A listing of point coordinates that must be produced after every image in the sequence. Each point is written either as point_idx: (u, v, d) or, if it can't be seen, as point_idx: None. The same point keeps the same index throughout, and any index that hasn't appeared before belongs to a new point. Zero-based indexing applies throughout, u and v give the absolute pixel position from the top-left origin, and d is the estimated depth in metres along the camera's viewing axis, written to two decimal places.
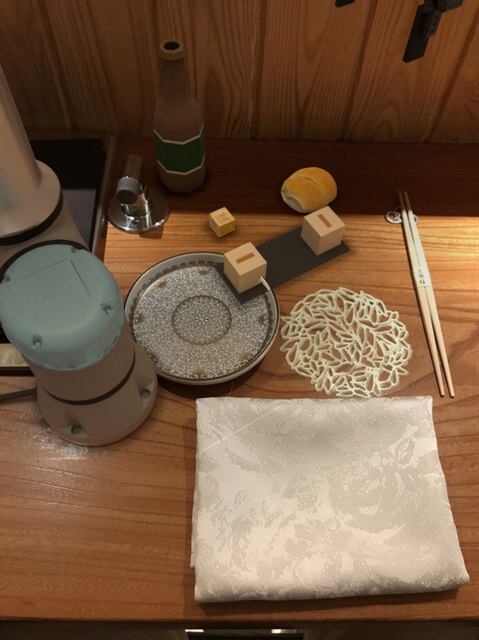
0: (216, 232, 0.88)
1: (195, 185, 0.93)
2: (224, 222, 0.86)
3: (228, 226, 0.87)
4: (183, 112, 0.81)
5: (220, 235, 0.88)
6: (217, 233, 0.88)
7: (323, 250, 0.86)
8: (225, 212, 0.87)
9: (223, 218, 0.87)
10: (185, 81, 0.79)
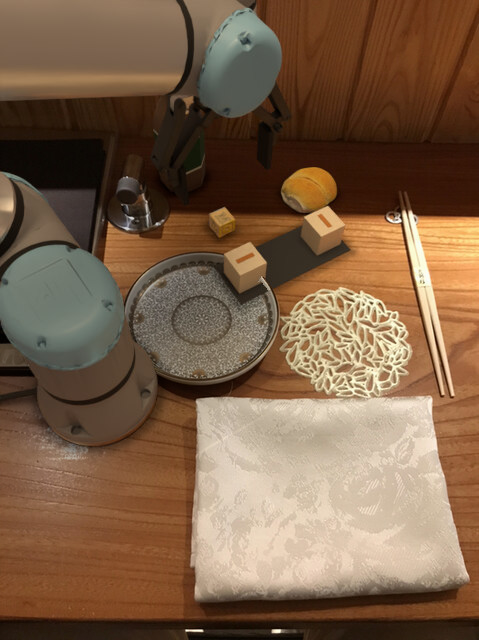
0: (216, 232, 0.88)
1: (195, 185, 0.93)
2: (224, 221, 0.86)
3: (228, 226, 0.87)
4: None
5: (220, 235, 0.88)
6: (217, 233, 0.88)
7: (323, 250, 0.86)
8: (225, 212, 0.87)
9: (223, 218, 0.87)
10: None
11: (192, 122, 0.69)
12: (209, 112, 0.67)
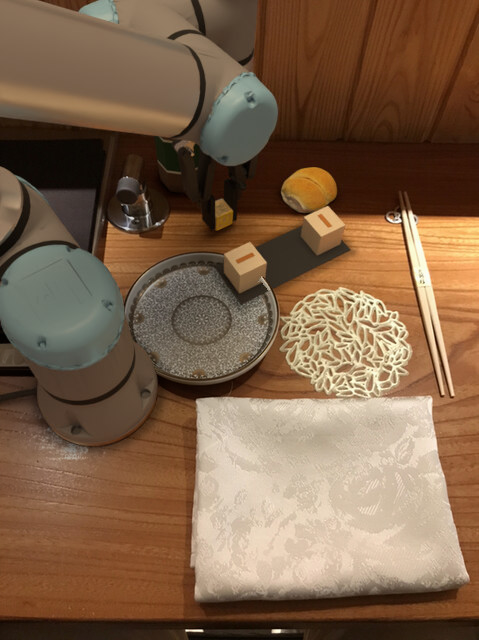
0: None
1: None
2: (222, 213, 0.84)
3: (226, 218, 0.85)
4: None
5: (217, 227, 0.86)
6: None
7: (323, 250, 0.86)
8: (223, 203, 0.85)
9: (220, 209, 0.85)
10: None
11: (204, 160, 0.75)
12: None
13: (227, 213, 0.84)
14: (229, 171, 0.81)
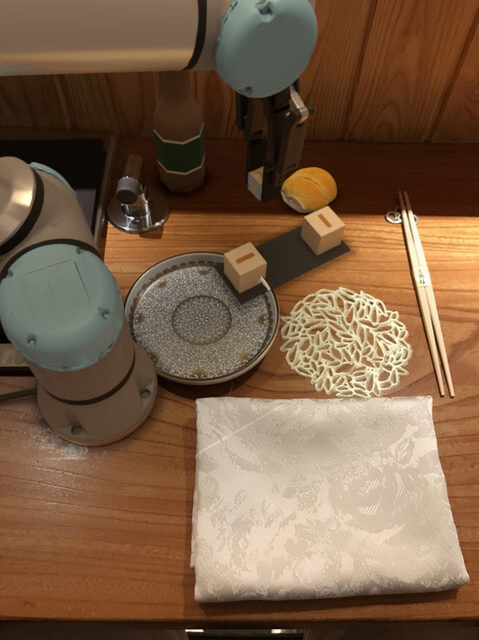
0: None
1: (195, 185, 0.93)
2: None
3: None
4: (183, 112, 0.81)
5: None
6: None
7: (323, 250, 0.86)
8: (257, 171, 0.75)
9: None
10: (185, 81, 0.79)
11: (281, 120, 0.65)
12: None
13: None
14: (252, 132, 0.71)
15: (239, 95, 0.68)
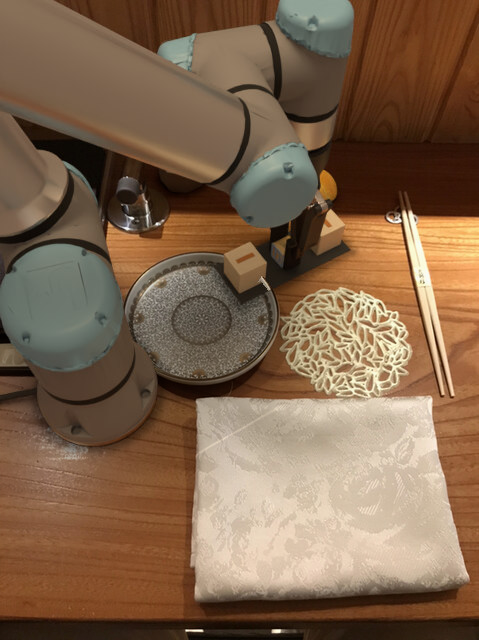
0: None
1: (195, 185, 0.93)
2: None
3: None
4: None
5: None
6: None
7: (323, 250, 0.86)
8: (279, 242, 0.84)
9: None
10: None
11: None
12: None
13: None
14: None
15: None
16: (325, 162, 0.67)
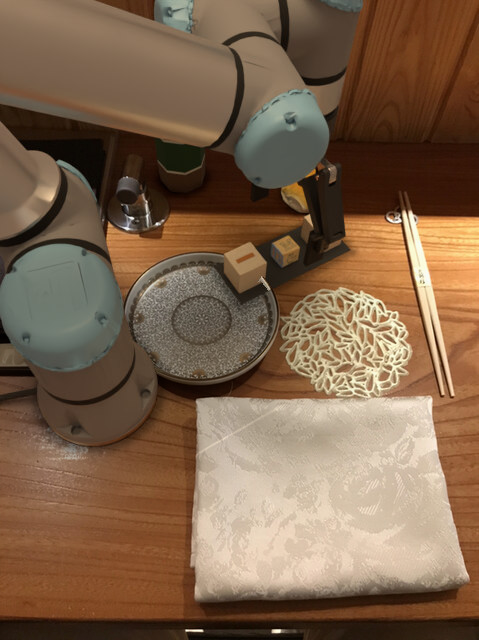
0: (294, 258, 0.85)
1: (195, 185, 0.93)
2: (293, 243, 0.84)
3: None
4: None
5: None
6: (296, 257, 0.85)
7: None
8: (279, 242, 0.84)
9: (288, 244, 0.84)
10: None
11: (316, 185, 0.68)
12: None
13: None
14: None
15: None
16: (331, 132, 0.63)
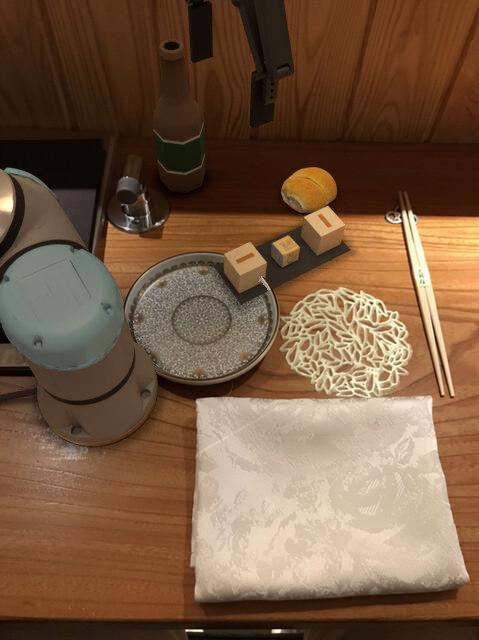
0: (294, 258, 0.85)
1: (195, 185, 0.93)
2: (293, 243, 0.84)
3: None
4: (183, 112, 0.81)
5: None
6: (296, 257, 0.85)
7: (323, 250, 0.86)
8: (279, 242, 0.84)
9: (288, 244, 0.84)
10: (185, 81, 0.79)
11: (255, 4, 0.54)
12: None
13: None
14: None
15: None
16: None
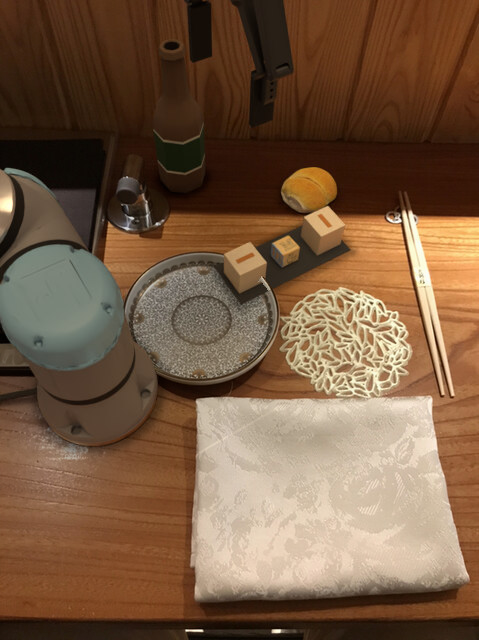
0: (294, 258, 0.85)
1: (195, 185, 0.93)
2: (293, 243, 0.84)
3: None
4: (183, 112, 0.81)
5: None
6: (296, 257, 0.85)
7: (323, 250, 0.86)
8: (279, 242, 0.84)
9: (288, 244, 0.84)
10: (185, 81, 0.79)
11: None
12: None
13: None
14: None
15: None
16: None
